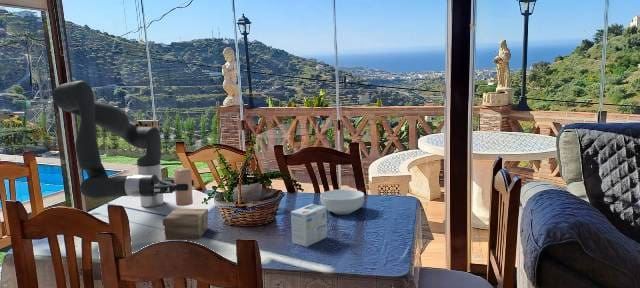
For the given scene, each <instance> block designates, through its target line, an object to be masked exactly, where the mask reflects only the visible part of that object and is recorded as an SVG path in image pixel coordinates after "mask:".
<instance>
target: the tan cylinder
mask: <svg viewBox="0 0 640 288" xmlns="http://www.w3.org/2000/svg"><path fill="white" fill-rule="evenodd" d="M173 176H174V177H173V178H175V184H176V185H177V184H188V187H189V189H188V190H187V191H176V192H174V193H175V205H176V206H177V207H184V206H186V207H187V206H190V205H191V206H192V205H193V204H194V199H193V186H192V180H193V179H192V169H191V168H190V167H180V168H174V169H173Z"/></svg>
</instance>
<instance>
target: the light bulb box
mask: <svg viewBox="0 0 640 288" xmlns="http://www.w3.org/2000/svg"><path fill="white" fill-rule="evenodd" d="M327 219H328V218H327V209H326V207H325V206H323V205H321V204H320V205H319V204H314V203H309V204H307V205H305V206H302V207H300V208H298V209H295V210H292V211H290V221H291V222H290V224H291V240H292V241H291V243H292V244H296V245H299V246H303V247H305V248H307V247H309V246H311V245H314V244H316V243H318V242H321V241H322V240H324V239H327V237H328V230H327V229H328V225H327V223H328V222H327Z"/></svg>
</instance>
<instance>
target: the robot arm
mask: <svg viewBox="0 0 640 288" xmlns="http://www.w3.org/2000/svg"><path fill="white" fill-rule="evenodd" d="M52 99H53V101H54V103H55V105H57V107H58V108H60V109H61V110H63V111H65V112H66V113H69V114H73V115H75V116H77V117H80V123H79V124H80V125H79V129H78V132H77V135H76V138H75V145H74V146H75V153H76V158H77V162H78V166H79V169H80V170H81V171H85V173H86V175H87V177H86V178H85V179H83V180H82V181H81V183H80V184H79V191H80V193H81V194H82V195H83V196H84V197H86V198H89V199H100V198H107V197H132V198H133V197H136V198H138V197H139V198H140V206H141V207H144V208H152V207H153V208H154V207H159V206H161V205H163V204H164V203H165V202H164V201H165V200H164V194H173V193H175V192H176V191H187V190H188V189H189V187H188V184H177V185H176V184H175V178H174V177H170V176H169V177H167V178H162V177H163V176H162V166H161V160H162V139H161V132H160V130H159V128H157V127H155V126H139V125H138V126H137V125H134V124H132V123H131V122H130V119H129V117H128V115H127V113H126V112H124V111H123V110H122V109H120V108H118V107H117V106H115V105H113V104H109V103H106V102H100V101H95V95H94V92H93V88H92V87H91V85H90V84H89V83H88V82H86V81H85V80H75V81H71V82H66V83H62V84H59V85H57V86H56V87H54V89H53V90H52ZM96 125H97V126H98V127H100V128H101V129H103V130H105V131H107V132H109V133H111V134H114V135H115V136H118V137H119V138H122V139H123V140H125V141H126V143H128V144H129V145H131V146H132V147H134V148H136V149H141V150H142V149H143V150H146V152H145V155H143V156H140V157H138V158H137V160H136V163H137V165H136V166H137V174H132V175H131V174H130V175H115V176H112V177H109V175H108V173H107V171H106V168H105V167H104V165H103V163H102V159H101V153H100V150H99V146H98V140H97V139H98V138H97V129H96V128H97V127H96ZM191 180H192V187H194V186H195V181H194V180H193V179H191Z"/></svg>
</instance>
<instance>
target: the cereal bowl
mask: <svg viewBox="0 0 640 288" xmlns="http://www.w3.org/2000/svg"><path fill="white" fill-rule="evenodd" d="M319 197H320V203H321V206H325V207H326V211H329V212H332V213H334V214H335V215H350V214H351V213H354V212H355V211H357V210H359V209H360V208H361V207H362V206H363V205H364V203H365V192H362V191H360V190H356V189H347V188H345V189H344V188H343V189H341V188H339V189H331V190H327V191H324V192H322V193H321V194H320V196H319Z"/></svg>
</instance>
